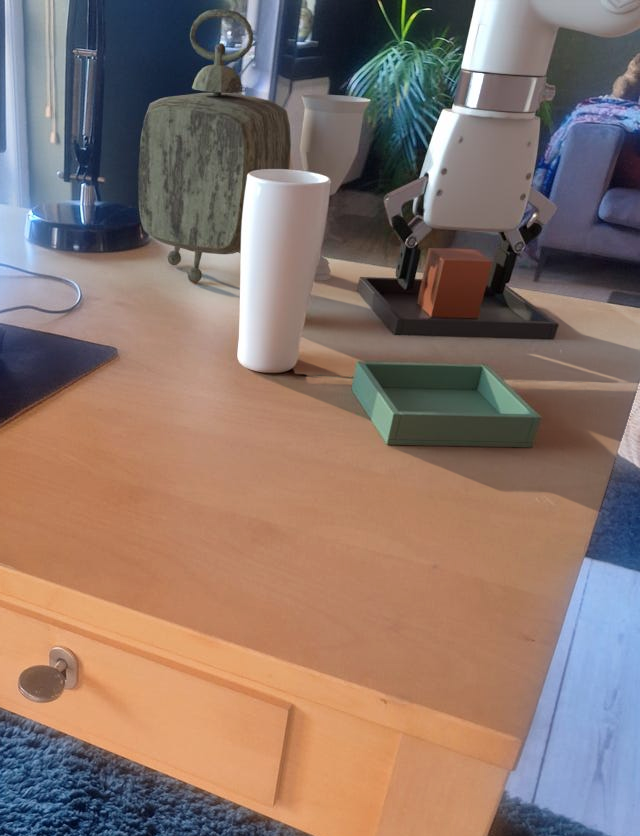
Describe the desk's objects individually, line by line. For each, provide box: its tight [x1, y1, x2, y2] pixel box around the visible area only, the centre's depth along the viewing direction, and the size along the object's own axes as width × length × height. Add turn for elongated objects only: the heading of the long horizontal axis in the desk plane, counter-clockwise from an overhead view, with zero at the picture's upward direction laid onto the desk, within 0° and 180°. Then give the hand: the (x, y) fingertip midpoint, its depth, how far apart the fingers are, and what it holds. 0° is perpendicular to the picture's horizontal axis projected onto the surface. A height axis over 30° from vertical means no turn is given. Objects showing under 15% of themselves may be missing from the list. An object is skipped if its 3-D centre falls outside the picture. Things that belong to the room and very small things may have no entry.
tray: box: [351, 360, 542, 448], centre depth 69 cm, size 11×11×2 cm
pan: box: [356, 276, 559, 341], centre depth 91 cm, size 16×15×2 cm
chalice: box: [299, 93, 371, 281], centre depth 97 cm, size 7×7×18 cm
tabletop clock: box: [137, 8, 292, 284], centre depth 92 cm, size 14×9×25 cm, turn 59°
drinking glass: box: [236, 169, 331, 374], centre depth 73 cm, size 7×7×15 cm
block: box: [417, 247, 493, 318], centre depth 91 cm, size 5×5×6 cm
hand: (449, 288), depth 91 cm, fingers open, 9 cm apart
